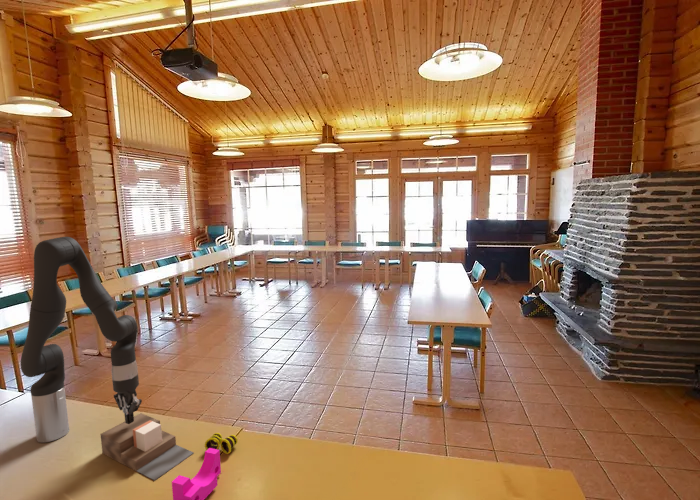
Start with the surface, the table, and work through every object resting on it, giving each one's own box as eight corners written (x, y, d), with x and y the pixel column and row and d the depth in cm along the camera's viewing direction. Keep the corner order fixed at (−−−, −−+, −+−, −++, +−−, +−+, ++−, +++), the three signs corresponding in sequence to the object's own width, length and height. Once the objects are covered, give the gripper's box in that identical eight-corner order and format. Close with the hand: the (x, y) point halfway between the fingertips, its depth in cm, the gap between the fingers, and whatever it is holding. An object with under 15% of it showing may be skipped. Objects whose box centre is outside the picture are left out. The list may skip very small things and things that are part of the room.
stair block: (102, 453, 123) (100, 434, 122) (142, 430, 135) (140, 413, 135) (154, 480, 110) (152, 459, 109) (193, 453, 122) (192, 433, 121)
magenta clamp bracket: (191, 512, 98) (189, 487, 97) (173, 506, 100) (171, 481, 99) (227, 474, 112) (226, 451, 111) (211, 469, 114) (209, 447, 114)
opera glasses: (238, 446, 126) (238, 432, 125) (230, 456, 121) (229, 442, 120) (213, 442, 128) (212, 429, 127) (204, 452, 123) (203, 439, 122)
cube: (132, 429, 120) (143, 434, 117) (149, 420, 126) (160, 424, 123) (134, 446, 121) (145, 451, 118) (151, 436, 126) (162, 441, 123)
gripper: (102, 375, 124) (107, 423, 126) (125, 383, 117) (130, 433, 119) (124, 366, 130) (129, 412, 132) (147, 374, 124) (152, 421, 126)
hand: (129, 422), depth 126 cm, fingers closed
